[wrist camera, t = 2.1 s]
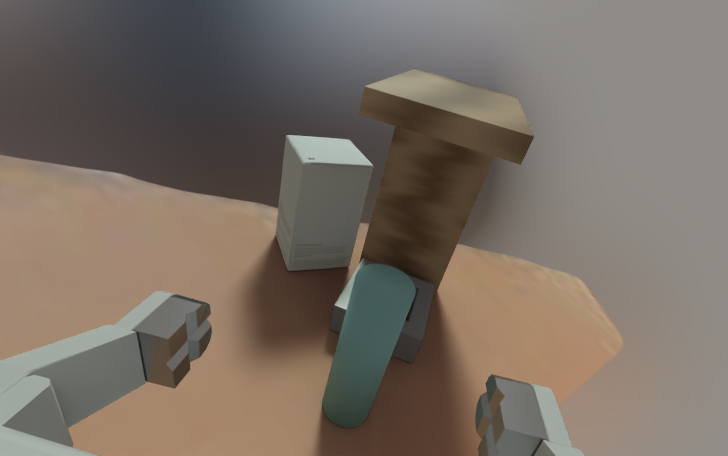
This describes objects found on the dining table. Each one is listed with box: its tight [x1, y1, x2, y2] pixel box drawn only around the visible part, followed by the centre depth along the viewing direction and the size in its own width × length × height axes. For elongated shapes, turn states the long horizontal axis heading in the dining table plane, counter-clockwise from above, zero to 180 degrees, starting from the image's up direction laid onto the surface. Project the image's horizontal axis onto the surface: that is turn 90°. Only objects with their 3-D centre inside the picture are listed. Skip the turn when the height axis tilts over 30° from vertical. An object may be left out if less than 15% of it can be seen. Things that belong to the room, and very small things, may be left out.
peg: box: [323, 264, 416, 428], centre depth 24 cm, size 4×4×12 cm
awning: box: [359, 69, 534, 299], centre depth 30 cm, size 9×15×22 cm, turn 161°
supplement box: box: [276, 135, 373, 271], centre depth 39 cm, size 7×7×13 cm
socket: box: [329, 258, 435, 363], centre depth 34 cm, size 8×8×3 cm
